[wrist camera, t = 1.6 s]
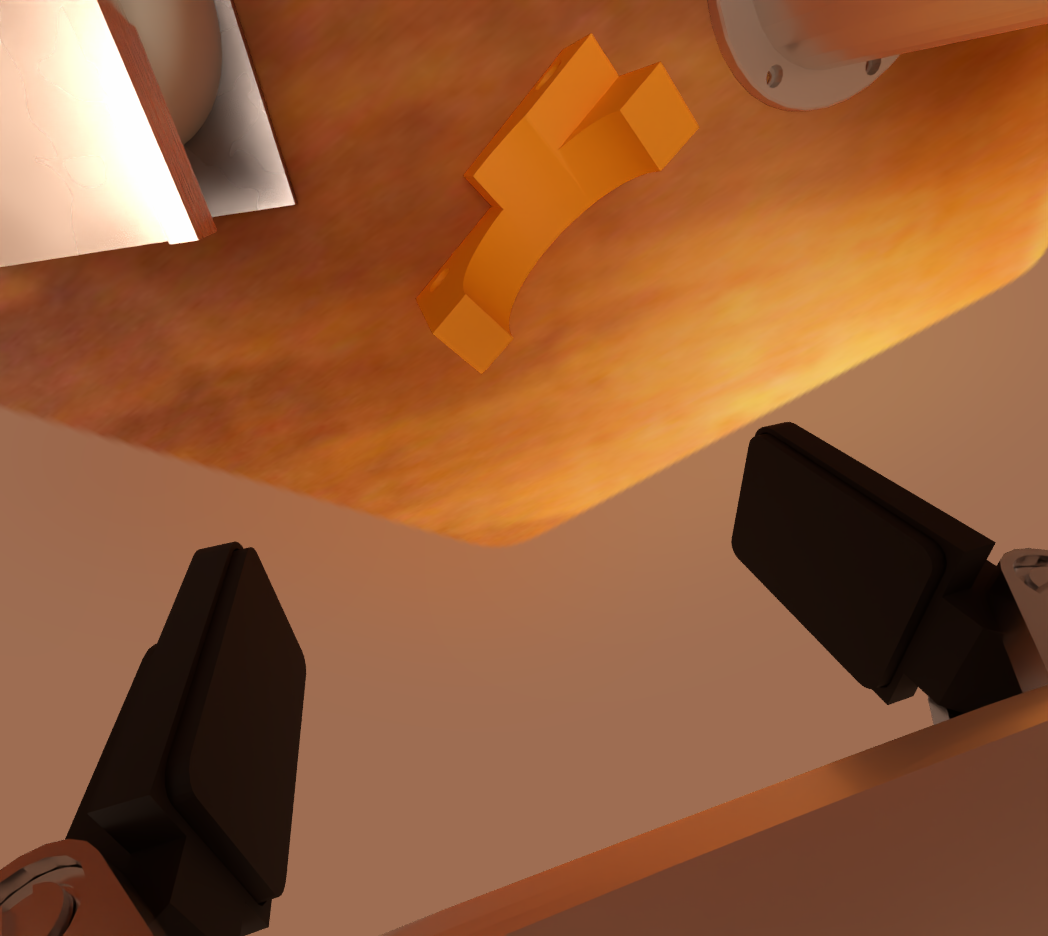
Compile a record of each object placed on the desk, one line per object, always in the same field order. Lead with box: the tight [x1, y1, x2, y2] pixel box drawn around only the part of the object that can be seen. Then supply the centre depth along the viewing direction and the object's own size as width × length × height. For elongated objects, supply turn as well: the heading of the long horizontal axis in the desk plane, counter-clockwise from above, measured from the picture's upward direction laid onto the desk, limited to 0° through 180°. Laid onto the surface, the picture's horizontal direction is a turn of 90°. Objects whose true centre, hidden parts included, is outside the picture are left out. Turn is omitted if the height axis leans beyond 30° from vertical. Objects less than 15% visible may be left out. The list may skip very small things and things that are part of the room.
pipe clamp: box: [416, 33, 699, 374], centre depth 21 cm, size 12×4×6 cm, turn 135°
